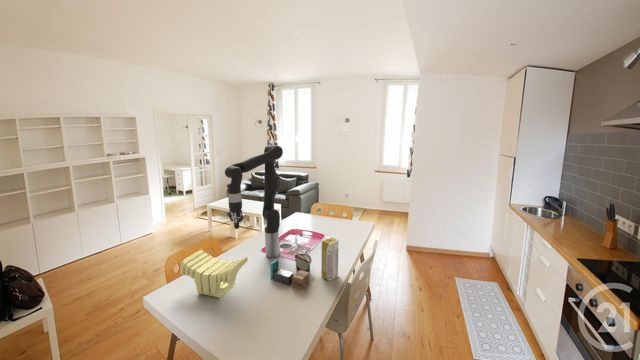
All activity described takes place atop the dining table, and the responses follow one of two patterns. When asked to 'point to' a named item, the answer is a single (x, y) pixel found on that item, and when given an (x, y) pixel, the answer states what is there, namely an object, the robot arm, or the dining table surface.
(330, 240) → the juice carton
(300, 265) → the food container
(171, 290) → the dining table surface
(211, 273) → the slatted curved stool
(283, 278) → the sleeve
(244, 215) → the robot arm
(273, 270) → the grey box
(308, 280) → the brown block
